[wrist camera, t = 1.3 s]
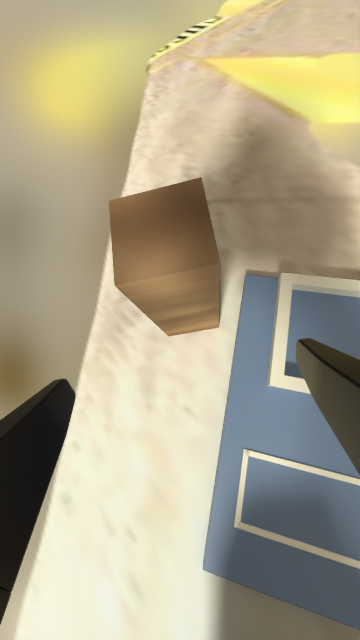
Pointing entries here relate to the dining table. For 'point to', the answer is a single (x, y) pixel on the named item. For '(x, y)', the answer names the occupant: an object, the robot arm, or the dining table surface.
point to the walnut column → (168, 256)
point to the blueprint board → (287, 454)
